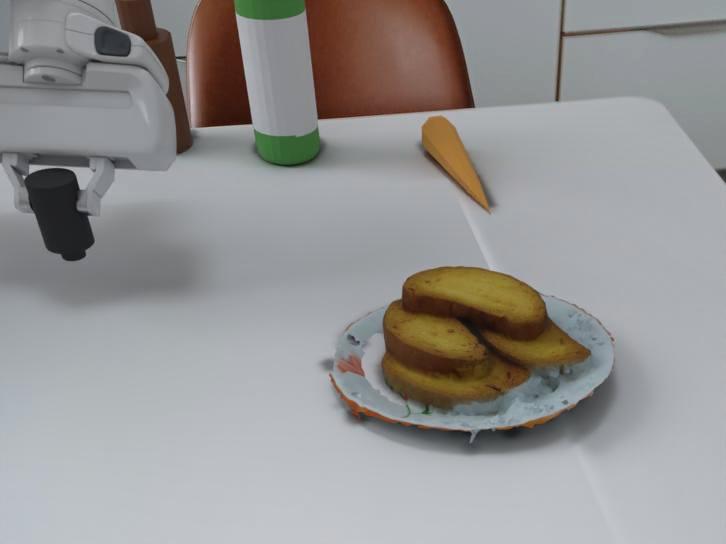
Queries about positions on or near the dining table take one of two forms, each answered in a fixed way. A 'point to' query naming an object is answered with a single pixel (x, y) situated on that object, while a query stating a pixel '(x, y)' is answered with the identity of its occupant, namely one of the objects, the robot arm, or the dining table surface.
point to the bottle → (141, 22)
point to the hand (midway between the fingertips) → (57, 212)
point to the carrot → (452, 155)
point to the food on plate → (475, 353)
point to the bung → (59, 212)
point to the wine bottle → (279, 78)
